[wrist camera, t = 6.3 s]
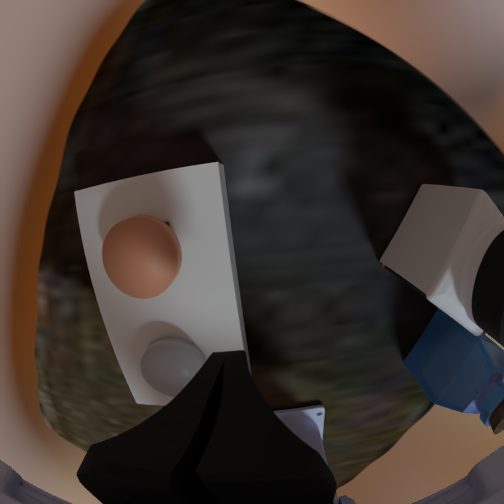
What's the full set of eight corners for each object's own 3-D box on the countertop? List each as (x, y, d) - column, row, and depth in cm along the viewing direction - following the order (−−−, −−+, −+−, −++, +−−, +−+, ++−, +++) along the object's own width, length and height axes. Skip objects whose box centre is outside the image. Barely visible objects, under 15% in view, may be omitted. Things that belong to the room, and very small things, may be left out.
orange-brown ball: (196, 273, 18) (183, 296, 15) (135, 279, 18) (112, 300, 15) (185, 205, 17) (168, 212, 13) (123, 215, 17) (95, 224, 14)
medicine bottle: (376, 261, 19) (482, 345, 8) (420, 181, 18) (549, 197, 6) (430, 300, 20) (520, 376, 9) (469, 230, 19) (574, 270, 7)
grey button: (217, 365, 21) (211, 398, 17) (164, 367, 21) (151, 396, 17) (206, 316, 20) (197, 345, 16) (149, 320, 20) (131, 346, 16)
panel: (252, 380, 22) (252, 404, 19) (147, 382, 22) (137, 403, 19) (223, 164, 18) (217, 161, 15) (96, 189, 18) (74, 191, 15)
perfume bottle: (402, 361, 22) (464, 451, 10) (439, 305, 20) (525, 378, 9) (438, 372, 22) (494, 446, 11) (470, 323, 21) (542, 386, 9)
